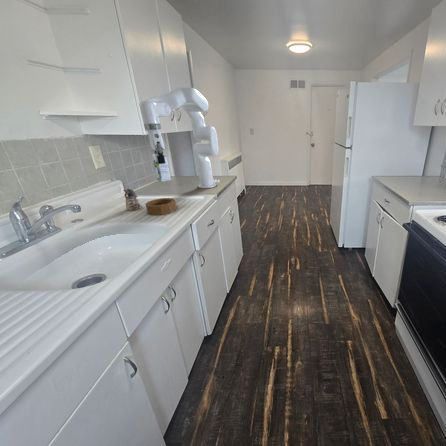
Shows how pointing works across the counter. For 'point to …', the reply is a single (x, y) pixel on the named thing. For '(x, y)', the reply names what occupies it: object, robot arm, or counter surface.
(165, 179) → the syrup box
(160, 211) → the brown bowl
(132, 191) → the figurine
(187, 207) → the counter surface
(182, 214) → the counter surface
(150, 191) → the counter surface
